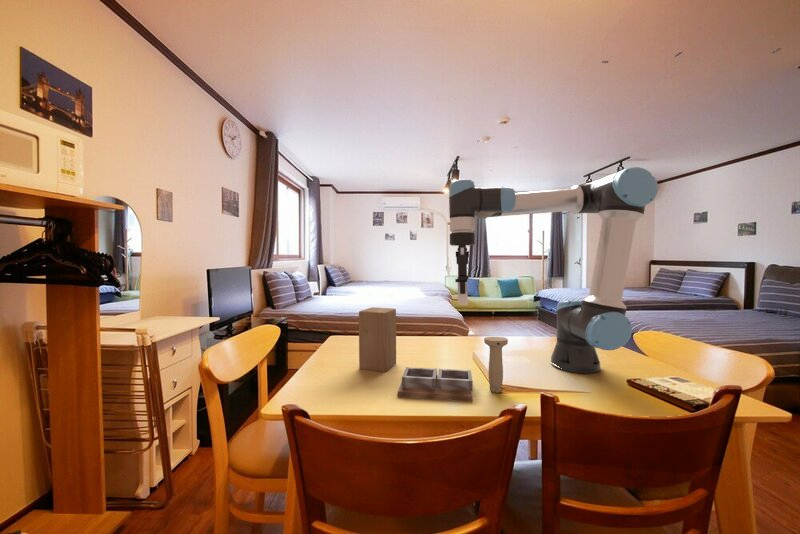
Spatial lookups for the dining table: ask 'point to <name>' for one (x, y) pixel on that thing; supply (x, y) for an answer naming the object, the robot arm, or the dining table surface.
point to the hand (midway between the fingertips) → (462, 302)
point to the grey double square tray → (436, 384)
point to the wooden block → (377, 339)
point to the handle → (495, 362)
